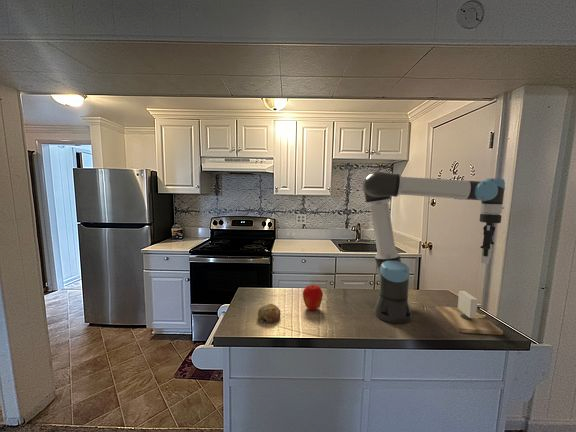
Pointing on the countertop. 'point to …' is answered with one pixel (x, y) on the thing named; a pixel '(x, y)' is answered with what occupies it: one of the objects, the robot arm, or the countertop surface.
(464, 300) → the cream piece
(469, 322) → the light wood flat board
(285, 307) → the countertop surface
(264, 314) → the bread roll
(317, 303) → the apple
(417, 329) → the countertop surface
